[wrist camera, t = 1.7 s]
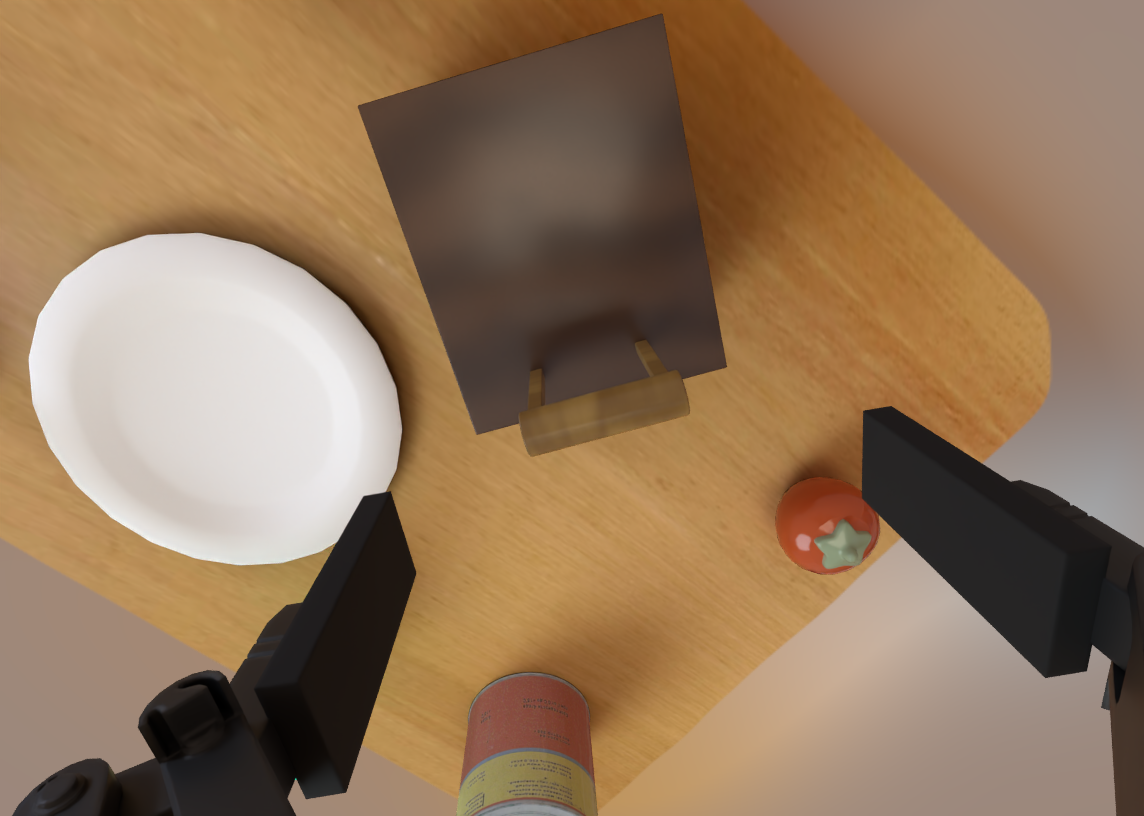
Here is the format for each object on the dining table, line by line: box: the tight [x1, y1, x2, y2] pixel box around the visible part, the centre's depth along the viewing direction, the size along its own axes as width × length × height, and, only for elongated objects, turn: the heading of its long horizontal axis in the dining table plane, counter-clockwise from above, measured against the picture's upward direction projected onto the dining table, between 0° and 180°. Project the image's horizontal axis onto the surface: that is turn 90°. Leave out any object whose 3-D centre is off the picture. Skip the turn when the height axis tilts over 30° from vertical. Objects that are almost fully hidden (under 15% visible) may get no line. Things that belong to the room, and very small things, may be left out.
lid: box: [358, 14, 727, 457], centre depth 27 cm, size 18×15×10 cm
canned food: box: [456, 673, 598, 816], centre depth 49 cm, size 11×11×12 cm
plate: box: [29, 233, 403, 565], centre depth 42 cm, size 25×25×2 cm
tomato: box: [775, 477, 880, 574], centre depth 44 cm, size 7×7×8 cm
